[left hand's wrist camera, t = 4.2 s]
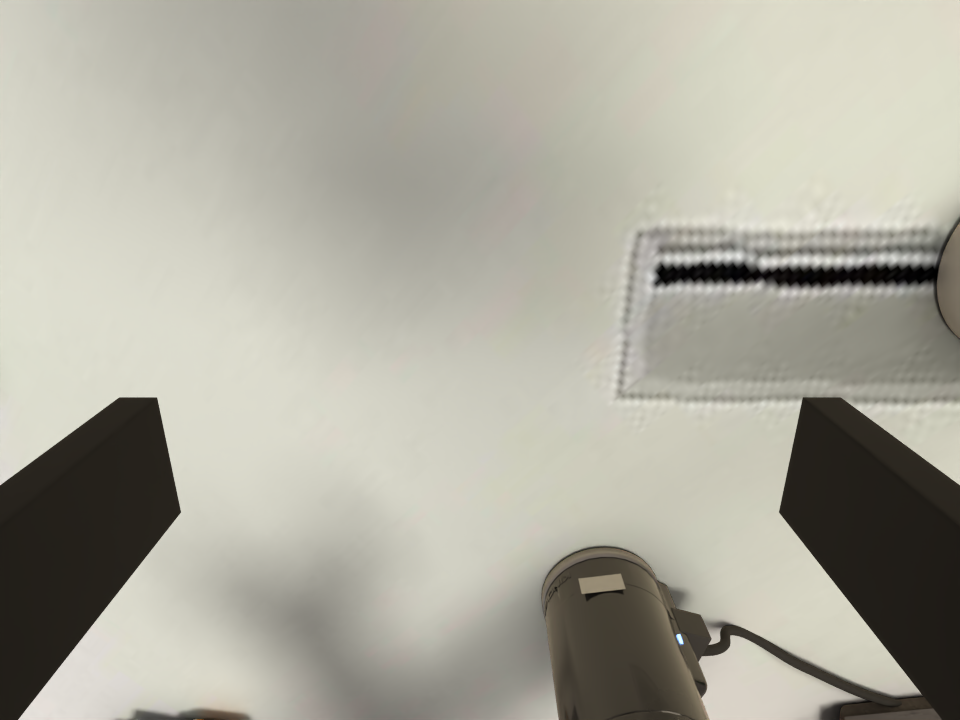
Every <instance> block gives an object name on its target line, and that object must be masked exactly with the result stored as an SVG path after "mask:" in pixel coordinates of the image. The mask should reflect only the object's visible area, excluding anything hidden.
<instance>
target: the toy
mask: <svg viewBox="0 0 960 720" xmlns="http://www.w3.org/2000/svg"><path fill="white" fill-rule="evenodd" d="M898 700H899V701H901V702H902V705H900V706H898V707H889V706H884V705H881V704H878V703H875V702H869V703H859V704H849V705H843V706H842V708H841V710H840V718H839V720H942V719H941V718H940V716H939V715H938V714H937V713H936V711H935V710H934V709H933V708H932V706H931V705H930V704H929V702H928V701H927V700H926V699H925V697H917V698H908V699H898Z"/></svg>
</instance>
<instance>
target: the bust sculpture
mask: <svg viewBox="0 0 960 720" xmlns="http://www.w3.org/2000/svg"><path fill="white" fill-rule="evenodd" d="M937 296H938V302H939V306H940V310H941V313H942V315H943V317H944V319H945V321H946V323H947V325H948V326H949V328H950V329H951V330H952V331H953V332H954V334H955V335H956V336H958V337H959V338H960V223H959V224H958V226H957V227H956V229H955V230H954V232H953V234H952V236H951V237H950V239H949V241H948V243H947V246H946V248H945V250H944V253H943V256H942V259H941V262H940V266H939V271H938V278H937Z"/></svg>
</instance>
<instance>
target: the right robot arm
mask: <svg viewBox="0 0 960 720" xmlns="http://www.w3.org/2000/svg"><path fill="white" fill-rule="evenodd" d="M542 607H543V613H544V617H545V620H546V626H547V634H548V643H549V650H550V658H551V665H552V673H553V680H554V688H555V695H556V703H557V710H558V718H559V720H710V719H709V717H708V714H707V712H706V709H705V707H704V704H703V701H702V699H701V698H702V696H703V695H704V694H705V693H706V690H707V683H706V680H705V677H704V675H703V673H702V670H701V668H700V665H699V663H698V662H699V660H700V658H701V656H712V655H718V654H721V653H723V652H725V651H726V650H727V649H728V648H729V646H730V635H735V636H740V637H743V638H745V639H748V640H750V641H752V642H753V643H755V644H757V645H759V646H760V647H762V648H764V649H765V650H767V651H768V652H770V653H771V654H773V655H775V656H776V657H778V658H779V659H781V660H783V661H784V662H786V663H787V664H789V665H791V666H793V667H795V668H797V669H799V670H801V671H803V672H805V673H807V674H809V675H811V676H814V677H816V678H818V679H820V680H822V681H824V682H826V683H828V684H831V685H833V686H835V687H837V688H839V689H841V690H844V691H846V692H848V693H851V694H853V695H856V696H858V697H861V698H863V699H866V700H869V701H872V702H875V703H878V704H881V705H884V706H889V707H898V706H900V705H902V702H901V701H899V700H896V699H893V698H889V697H886V696H883V695H880V694H877V693H874V692H871V691H868V690H865V689H863V688H860V687H857V686H855V685H852V684H850V683H848V682H845V681H843V680H841V679H839V678H837V677H835V676H833V675H830V674H828V673H826V672H824V671H822V670H820V669H818V668H816V667H814V666H811V665H809V664H807V663H805V662H803V661H801V660H799V659H797V658H795V657H793V656H792V655H790V654H788V653H787V652H785V651H783V650H782V649H780V648H779V647H777V646H775V645H774V644H772V643H771V642H769V641H767V640H765V639H764V638H762V637H760V636H758V635H756V634H754V633H752V632H750V631H748V630H746V629H743V628H741V627H738V626H724V627H723V628H722V629H721V631H720V638H721V639H720V642H718V643H716V644H713V645H708V644H709V643H710V641H711V637H710V634H709V632H708V630H707V628H706V626H705V623H704V621H703V619H702V617H701V615H699V614H695V613H691V612H687V611H683V610H679V609H676V607H675V605H674V602H673V600H672V597H671V595H670V592H669V590H668V587H667V586H666V585H664V584H661V583H659V582H658V581H657V579H656V577H655V574H654V573H653V571H652V569H651V568H650V567H649V566H648V564H647V563H645V562H644V561H643V560H642V559H641V558H639V557H638V556H636V555H634V554H632V553H630V552H627V551H624V550H620V549H615V548H593V549H588V550H584V551H581V552H578V553H575V554H573V555H571V556H569V557H567V558H566V559H564V560H563V561H561V562H560V563H559V564H558V565H557V566H556V567H555V568H554V569H553V570H552V571H551V572H550V574H549V575H548V577H547V579H546V580H545V583H544V586H543V589H542Z"/></svg>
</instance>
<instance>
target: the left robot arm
mask: <svg viewBox="0 0 960 720" xmlns="http://www.w3.org/2000/svg"><path fill="white" fill-rule="evenodd" d="M180 513H181V510H180V506H179V501H178V496H177V491H176V486H175V482H174V477H173V472H172V467H171V462H170V458H169V453H168V448H167V443H166V438H165V434H164V429H163V424H162V419H161V414H160V409H159V405H158V400H157V398H118V399H117V400H115V401H114V402H113V403H111V404H110V405H109V406H107V407H106V408H105V409H103V410H102V411H100V412H99V413H98V414H96V415H95V416H94V417H92V418H91V419H90V420H88V421H87V422H86V423H84V424H83V425H81V426H80V427H79V428H77V429H76V430H75V431H73V432H72V433H71V434H69V435H68V436H67V437H65V438H64V439H62V440H61V441H60V442H58V443H57V444H56V445H54V446H53V447H52V448H50V449H49V450H48V451H46V452H45V453H44V454H42V455H41V456H39V457H38V458H37V459H35V460H34V461H33V462H31V463H30V464H29V465H27V466H26V467H25V468H23V469H22V470H20V471H19V472H18V473H16V474H15V475H14V476H12V477H11V478H10V479H8V480H7V481H6V482H4V483H3V484H1V485H0V720H18V719H19V718H20V716H21V715H22V714H23V713H24V711H25V710H26V709H27V708H28V706H29V705H30V704H31V702H32V701H33V700H34V699H35V697H36V696H37V695H38V694H39V692H40V691H41V690H42V688H43V687H44V686H45V685H46V683H47V682H48V681H49V680H50V678H51V677H52V676H53V674H54V673H55V672H56V671H57V669H58V668H59V667H60V666H61V664H62V663H63V662H64V660H65V659H66V658H67V657H68V655H69V654H70V653H71V652H72V650H73V649H74V648H75V646H76V645H77V644H78V643H79V641H80V640H81V639H82V638H83V636H84V635H85V634H86V632H87V631H88V630H89V629H90V627H91V626H92V625H93V624H94V622H95V621H96V620H97V618H98V617H99V616H100V615H101V613H102V612H103V611H104V610H105V608H106V607H107V606H108V604H109V603H110V602H111V601H112V599H113V598H114V597H115V596H116V594H117V593H118V592H119V590H120V589H121V588H122V587H123V585H124V584H125V583H126V582H127V580H128V579H129V578H130V576H131V575H132V574H133V573H134V571H135V570H136V569H137V568H138V566H139V565H140V564H141V562H142V561H143V560H144V559H145V557H146V556H147V555H148V554H149V552H150V551H151V550H152V548H153V547H154V546H155V545H156V543H157V542H158V541H159V540H160V538H161V537H162V536H163V534H164V533H165V532H166V531H167V529H168V528H169V527H170V526H171V524H172V523H173V522H174V520H175V519H176V518H177V517H178V515H179V514H180ZM779 513H780V514H781V515H782V517H783V518H784V519H785V520H786V522H787V523H788V524H789V526H790V527H791V528H792V529H793V531H794V532H795V533H796V534H797V536H798V537H799V538H800V540H801V541H802V542H803V543H804V545H805V546H806V547H807V548H808V550H809V551H810V552H811V554H812V555H813V556H814V557H815V559H816V560H817V561H818V562H819V564H820V565H821V566H822V568H823V569H824V570H825V571H826V573H827V574H828V575H829V576H830V578H831V579H832V580H833V582H834V583H835V584H836V585H837V587H838V588H839V589H840V590H841V592H842V593H843V594H844V596H845V597H846V598H847V599H848V601H849V602H850V603H851V604H852V606H853V607H854V608H855V610H856V611H857V612H858V613H859V615H860V616H861V617H862V618H863V620H864V621H865V622H866V624H867V625H868V626H869V627H870V629H871V630H872V631H873V632H874V634H875V635H876V636H877V638H878V639H879V640H880V641H881V643H882V644H883V645H884V646H885V648H886V649H887V650H888V652H889V653H890V654H891V655H892V657H893V658H894V659H895V660H896V662H897V663H898V664H899V666H900V667H901V668H902V669H903V671H904V672H905V673H906V674H907V676H908V677H909V678H910V680H911V681H912V682H913V683H914V685H915V686H916V687H917V688H918V690H919V691H920V692H921V694H922V695H923V696H924V697H925V699H926V700H927V701H928V702H929V704H930V705H931V706H932V708H933V709H934V710H935V711H936V713H937V714H938V715H939V716H940V718H941V719H942V720H960V485H959V484H957V483H956V482H954V481H953V480H952V479H950V478H949V477H948V476H946V475H945V474H944V473H942V472H941V471H940V470H938V469H937V468H935V467H934V466H933V465H931V464H930V463H929V462H927V461H926V460H925V459H923V458H922V457H921V456H919V455H918V454H916V453H915V452H914V451H912V450H911V449H910V448H908V447H907V446H906V445H904V444H903V443H902V442H900V441H899V440H898V439H896V438H895V437H893V436H892V435H891V434H889V433H888V432H887V431H885V430H884V429H883V428H881V427H880V426H879V425H877V424H876V423H874V422H873V421H872V420H870V419H869V418H868V417H866V416H865V415H864V414H862V413H861V412H860V411H858V410H857V409H855V408H854V407H853V406H851V405H850V404H849V403H847V402H846V401H845V400H843V399H842V398H803V400H802V405H801V409H800V414H799V419H798V424H797V429H796V433H795V438H794V443H793V448H792V453H791V458H790V462H789V467H788V472H787V477H786V482H785V486H784V491H783V496H782V501H781V506H780V510H779Z"/></svg>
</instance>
